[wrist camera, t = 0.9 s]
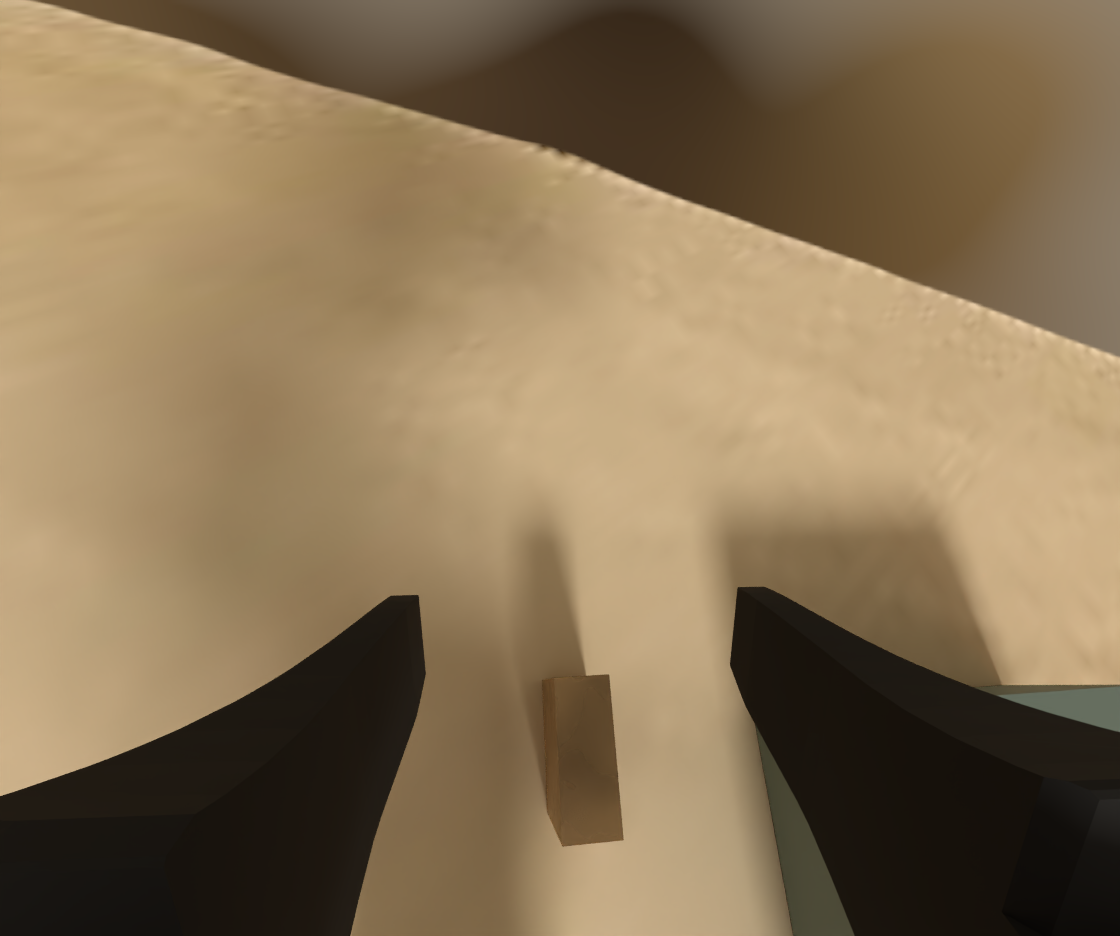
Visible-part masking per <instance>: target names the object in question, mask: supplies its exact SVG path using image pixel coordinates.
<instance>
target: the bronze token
mask: <svg viewBox="0 0 1120 936" xmlns="http://www.w3.org/2000/svg"><path fill="white" fill-rule="evenodd" d="M542 690H543V715H544V739H545V764H546V788H547V813H548V815H549V817H550V819H551V822H552V824H553V826H554V829H555V831H556V833H557V835H558V838H559V840H560V842H561V844H562V846H571V845H581V844H591V843H601V842H610V841H620V840H623V828H622V817H621V805H620V794H619V783H618V771H617V760H616V748H615V737H614V725H613V714H612V703H611V691H610V680H609V675H592V676H576V677H559V678H551V679H545V680H542Z"/></svg>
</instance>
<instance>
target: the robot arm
mask: <svg viewBox="0 0 1120 936" xmlns="http://www.w3.org/2000/svg"><path fill="white" fill-rule="evenodd" d="M730 666H731V669H732V672H733V674H734V677H735V680H736V683H737V685H738V688H739V691H740V693H741V696H742V698H743V701H744V703H745V706H746V708H747V710H748V712H749V713H750V715H751V717H752V719H753V721H754V723H755V725H756V727H757V729H758V730H759V732H760V734H761V736H762V738H763V740H764V742H765V743H766V745H767V747H768V749H769V751H770V753H771V754H772V756H773V758H774V760H775V762H776V764H777V765H778V767H779V769H780V771H781V773H782V775H783V776H784V778H785V780H786V782H787V784H788V786H789V787H790V789H791V791H792V793H793V795H794V797H795V798H796V800H797V802H798V804H799V806H800V808H801V810H802V812H803V814H804V816H805V818H806V820H807V822H808V825H809V827H810V829H811V832H812V834H813V836H814V839H815V841H816V843H817V846H818V848H819V850H820V853H821V855H822V857H823V860H824V862H825V864H826V867H827V869H828V871H829V874H830V876H831V878H832V881H833V883H834V886H835V888H836V891H837V893H838V896H839V898H840V901H841V903H842V906H843V908H844V911H845V913H846V916H847V918H848V921H849V923H850V926H851V928H852V931H853V933H854V936H1120V732H1118V731H1113V730H1110V729H1106V728H1102V727H1098V726H1095V725H1091V724H1088V723H1084V722H1080V721H1077V720H1073V719H1070V718H1066V717H1063V716H1059V715H1055V714H1052V713H1049V712H1045V711H1042V710H1039V709H1036V708H1033V707H1029V706H1026V705H1023V704H1020V703H1017V702H1014V701H1011V700H1008V699H1005V698H1002V697H999V696H996V695H994V694H991V693H988V692H985V691H982V690H979V689H976V688H973V687H971V686H968V685H966V684H963V683H960V682H958V681H955V680H952V679H950V678H947V677H945V676H943V675H940V674H938V673H935V672H933V671H931V670H928V669H926V668H924V667H921V666H919V665H916V664H914V663H912V662H910V661H907V660H905V659H903V658H901V657H898V656H896V655H894V654H892V653H890V652H888V651H886V650H884V649H882V648H880V647H878V646H876V645H874V644H872V643H870V642H868V641H866V640H864V639H862V638H860V637H858V636H856V635H854V634H852V633H850V632H848V631H847V630H845V629H843V628H841V627H839V626H837V625H835V624H834V623H832V622H830V621H828V620H826V619H825V618H823V617H821V616H819V615H817V614H816V613H814V612H812V611H810V610H808V609H807V608H805V607H803V606H801V605H799V604H798V603H796V602H794V601H792V600H790V599H789V598H787V597H785V596H783V595H781V594H779V593H777V592H775V591H773V590H771V589H768V588H766V587H738V589H737V599H736V609H735V619H734V630H733V640H732V650H731V660H730ZM425 675H426V672H425V661H424V650H423V639H422V628H421V617H420V606H419V595H402V596H390V597H388V598H387V599H385V600H384V601H383V602H381V603H380V604H379V605H377V606H376V607H375V608H373V609H372V610H371V611H369V612H368V613H367V614H366V615H364V616H363V617H362V618H360V619H359V620H358V621H357V622H355V623H354V624H353V625H351V626H350V627H349V628H347V629H346V630H345V631H343V632H342V633H341V634H339V635H338V636H337V637H336V638H334V639H333V640H332V641H330V642H329V643H327V644H326V645H324V646H323V647H322V648H320V649H319V650H317V651H316V652H314V653H313V654H311V655H310V656H309V657H307V658H306V659H304V660H303V661H301V662H300V663H298V664H297V665H296V666H294V667H293V668H291V669H290V670H288V671H287V672H285V673H283V674H282V675H280V676H279V677H277V678H275V679H274V680H272V681H270V682H269V683H267V684H265V685H264V686H262V687H260V688H258V689H257V690H255V691H253V692H251V693H250V694H248V695H246V696H244V697H243V698H241V699H239V700H237V701H235V702H233V703H231V704H229V705H227V706H225V707H223V708H221V709H219V710H217V711H215V712H213V713H211V714H209V715H207V716H205V717H203V718H201V719H199V720H197V721H195V722H193V723H191V724H189V725H187V726H185V727H183V728H181V729H178V730H176V731H174V732H172V733H170V734H167V735H165V736H163V737H160V738H158V739H156V740H153V741H151V742H149V743H146V744H144V745H142V746H139V747H137V748H134V749H132V750H129V751H127V752H124V753H122V754H119V755H117V756H114V757H112V758H109V759H107V760H104V761H101V762H99V763H96V764H93V765H91V766H88V767H85V768H82V769H79V770H76V771H74V772H71V773H68V774H65V775H62V776H59V777H56V778H53V779H50V780H48V781H45V782H42V783H39V784H36V785H33V786H30V787H27V788H24V789H21V790H18V791H15V792H12V793H9V794H6V795H3V796H0V936H350V934H351V930H352V925H353V921H354V917H355V913H356V909H357V904H358V900H359V896H360V892H361V888H362V884H363V880H364V876H365V872H366V868H367V864H368V860H369V857H370V853H371V849H372V845H373V841H374V838H375V835H376V831H377V828H378V825H379V822H380V818H381V815H382V813H383V810H384V807H385V804H386V801H387V799H388V796H389V793H390V790H391V787H392V785H393V782H394V779H395V776H396V773H397V771H398V768H399V765H400V762H401V759H402V757H403V754H404V751H405V748H406V745H407V742H408V740H409V737H410V734H411V731H412V728H413V725H414V722H415V719H416V716H417V712H418V708H419V703H420V699H421V694H422V689H423V684H424V679H425Z"/></svg>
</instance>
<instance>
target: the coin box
mask: <svg viewBox="0 0 1120 936" xmlns="http://www.w3.org/2000/svg"><path fill="white" fill-rule="evenodd" d="M973 688H976V689H979V690H982V691H985V692H988V693H991V694H994V695H996V696H999V697H1002V698H1005V699H1008V700H1011V701H1014V702H1017V703H1020V704H1023V705H1026V706H1029V707H1033V708H1036V709H1039V710H1042V711H1045V712H1049V713H1052V714H1055V715H1059V716H1063V717H1066V718H1070V719H1073V720H1077V721H1080V722H1084V723H1088V724H1091V725H1095V726H1098V727H1102V728H1106V729H1110V730H1113V731H1118V732H1120V685H1001V686H986V687H973ZM756 731H757V736H758V742H759V747H760V753H761V758H762V764H763V769H764V775H765V780H766V786H767V791H768V797H769V803H770V808H771V814H772V819H773V825H774V830H775V836H776V841H777V847H778V852H779V858H780V863H781V869H782V874H783V880H784V885H785V891H786V897H787V902H788V908H789V913H790V919H791V924H792V930H793V935H794V936H854V933H853V931H852V928H851V926H850V923H849V921H848V918H847V916H846V913H845V911H844V908H843V906H842V903H841V901H840V898H839V896H838V893H837V891H836V888H835V886H834V883H833V881H832V878H831V876H830V874H829V871H828V869H827V867H826V864H825V862H824V860H823V857H822V855H821V853H820V850H819V848H818V846H817V843H816V841H815V839H814V836H813V834H812V832H811V829H810V827H809V825H808V822H807V820H806V818H805V816H804V814H803V812H802V810H801V808H800V806H799V804H798V802H797V800H796V798H795V797H794V795H793V793H792V791H791V789H790V787H789V786H788V784H787V782H786V780H785V778H784V776H783V775H782V773H781V771H780V769H779V767H778V765H777V764H776V762H775V760H774V758H773V756H772V754H771V753H770V751H769V749H768V747H767V745H766V743H765V742H764V740H763V738H762V736H761V734H760V732H759V730H758V729H757V727H756Z"/></svg>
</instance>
